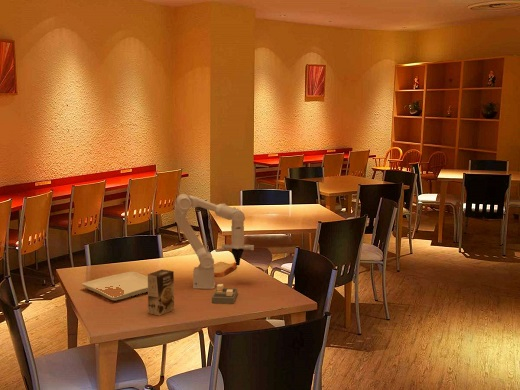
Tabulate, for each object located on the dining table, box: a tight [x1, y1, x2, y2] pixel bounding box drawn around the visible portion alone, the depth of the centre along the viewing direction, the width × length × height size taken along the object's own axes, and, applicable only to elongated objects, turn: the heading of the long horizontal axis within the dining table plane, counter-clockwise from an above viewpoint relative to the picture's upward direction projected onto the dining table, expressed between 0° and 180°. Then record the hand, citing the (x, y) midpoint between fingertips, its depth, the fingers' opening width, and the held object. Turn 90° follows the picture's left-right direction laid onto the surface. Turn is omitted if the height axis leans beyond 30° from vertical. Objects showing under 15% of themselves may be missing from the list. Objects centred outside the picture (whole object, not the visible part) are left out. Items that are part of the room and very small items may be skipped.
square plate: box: [81, 271, 148, 301], centre depth 266 cm, size 27×27×4 cm
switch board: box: [211, 287, 238, 305], centre depth 254 cm, size 9×13×3 cm
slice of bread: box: [214, 261, 238, 278], centre depth 296 cm, size 18×18×4 cm
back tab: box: [216, 283, 225, 291], centre depth 257 cm, size 2×3×2 cm
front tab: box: [226, 289, 233, 296], centre depth 250 cm, size 2×3×2 cm
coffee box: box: [147, 269, 175, 317], centre depth 238 cm, size 9×6×16 cm
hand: (237, 264), depth 272 cm, fingers closed
